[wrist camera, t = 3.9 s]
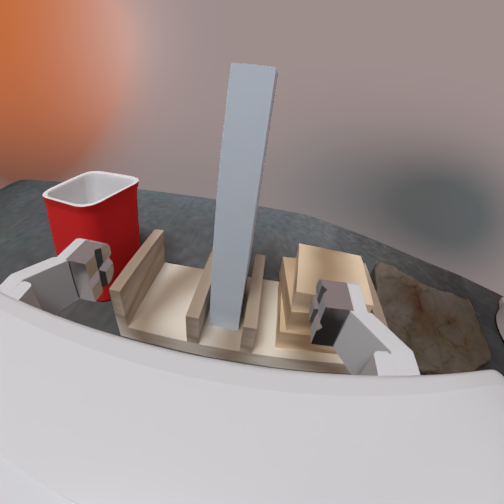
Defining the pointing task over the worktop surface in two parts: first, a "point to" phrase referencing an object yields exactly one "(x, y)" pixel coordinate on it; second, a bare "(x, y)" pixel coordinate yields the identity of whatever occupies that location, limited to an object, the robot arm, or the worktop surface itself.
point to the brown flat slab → (431, 323)
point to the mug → (96, 215)
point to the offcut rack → (208, 312)
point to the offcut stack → (311, 292)
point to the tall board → (239, 187)
